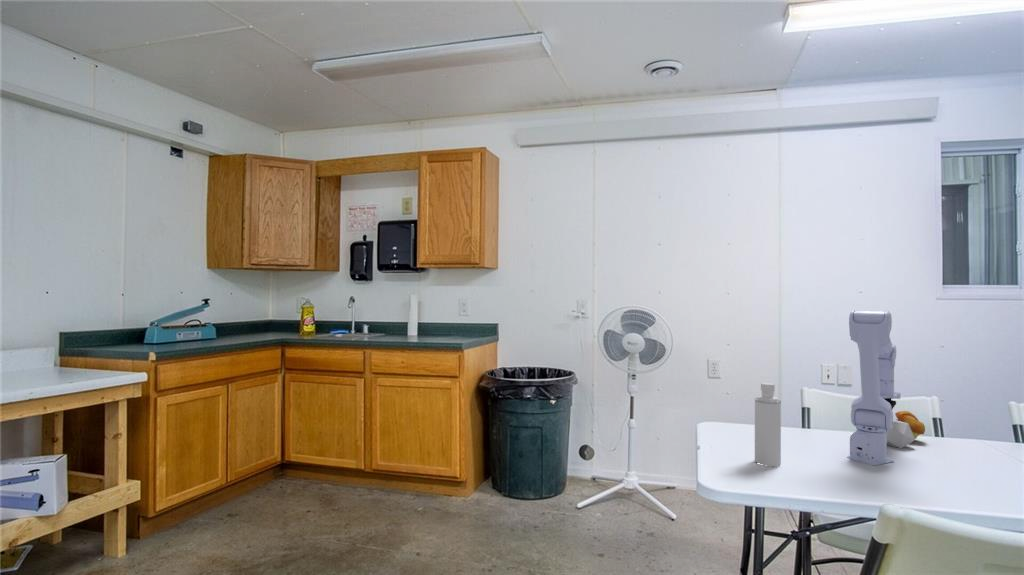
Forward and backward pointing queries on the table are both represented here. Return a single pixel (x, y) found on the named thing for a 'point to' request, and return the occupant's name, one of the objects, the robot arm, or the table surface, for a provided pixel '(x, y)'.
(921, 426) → the cheeseburger
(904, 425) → the die
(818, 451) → the table surface
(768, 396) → the grey bottle
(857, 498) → the table surface
